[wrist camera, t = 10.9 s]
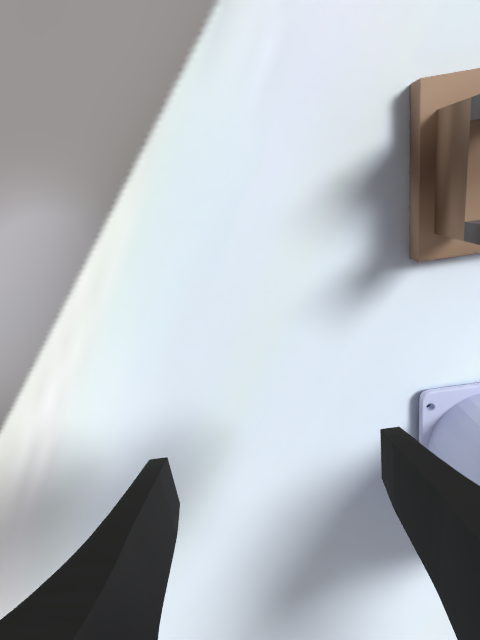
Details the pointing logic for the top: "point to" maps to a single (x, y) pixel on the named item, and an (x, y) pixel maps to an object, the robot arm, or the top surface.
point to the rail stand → (445, 166)
